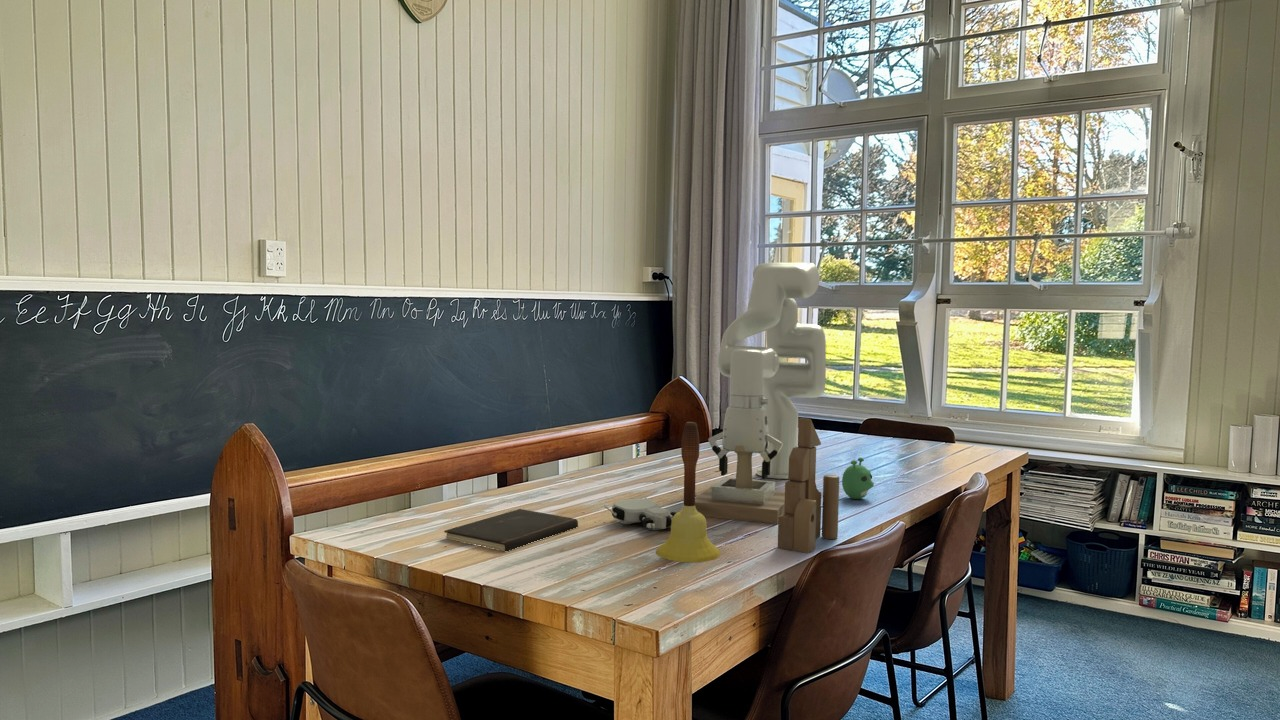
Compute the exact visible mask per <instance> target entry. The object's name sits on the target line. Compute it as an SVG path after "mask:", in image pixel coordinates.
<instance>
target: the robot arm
mask: <svg viewBox="0 0 1280 720" xmlns="http://www.w3.org/2000/svg"><path fill="white" fill-rule="evenodd" d="M752 271H753V272H752V278H753V280H752V284H751V289H750V294H749V299H748V303H747V304H748V305H747V307H746V309H747V310H746V311H745V312H743V313H742V314H741V315H739V316H738V317H736V319H734V320H733V321H732V323H730V325H729V326H727V327H726V329H725V331H724V332H723V335H722V338H721V343H720V346H719V351H718V355H717V368H718V371H719V372H720V374H721V375H722V376H725V377H727V378H729V406H728V407H726V410H725V414H724V421H723V429H722V431H721V432H719V433H717V434H715V435H713V436H711V437H709V438H708V439H707V441H708V443H709V445H710V447H711V450H712V452H714V453H715V454H716V456H717V458H718V459H719V460H718V470H719V472H720V476H722V477H723V476H726V475H727V474H728V467H729V466H728V461H729V459H728V456H727V454H728V453H729V452H734V450H735V447H736V446H744V448H745V451H746V452H750V453H753V454H754V453H755V454H759V456H760V457H761V458H762V461H761V467H759V468H757V469H756V474H757V475H758V476H760V477H761V479H762V480H766V479H767V478H768V479H776V480H778V479H779V480H781V479H782V480H789V479H788V472H789V456H790V454H791V451H792V449H793V448H794V447H798V419H799V411H798V408H797V407H796V406H795V404H794V403H793V402H792V400H791V398H804V399H805V398H810V399H813V398H814V399H817V398H820V397H821V396H823V394H824V392H825V389H826V377H827V376H826V375H827V373H826V372H827V371H826V369H827V367H826V362H827V361H826V359H827V358H826V357H827V356H826V353H827V352H826V351H827V349H826V348H827V346H826V334H825V331H824V329H823V327H822V326H820V325H818V324H813V323H799V321H798V319H799V318H798V317H799V316H798V315H799V314H798V311H799V309H798V304H797V301H796V300H795V299H799V300H800V299H808V298H809V297H812V296H813V295H814V294H816V292H817V291H818V288H819V285H820V272H819V269H818V266H817V265H816V264H814V263H813V262H764V263H759V264H757V265H756V266H755V267H754V268H753V270H752ZM762 332H766V335H765V336H766V346H747V345H746V346H745V345H739V343H741V342H742V341H743V340H745V339H747V338H749V337H751V336H754V335H758V334H760V333H762ZM780 358H781V359H804V360H806V361H807V362H793V361H789V362H788V361H780ZM721 439H722V441H721V442H722V443H721V444H722V445H721V446H722V448H721V447H720V446H719V445H718V443H717V441H718V440H721Z"/></svg>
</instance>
